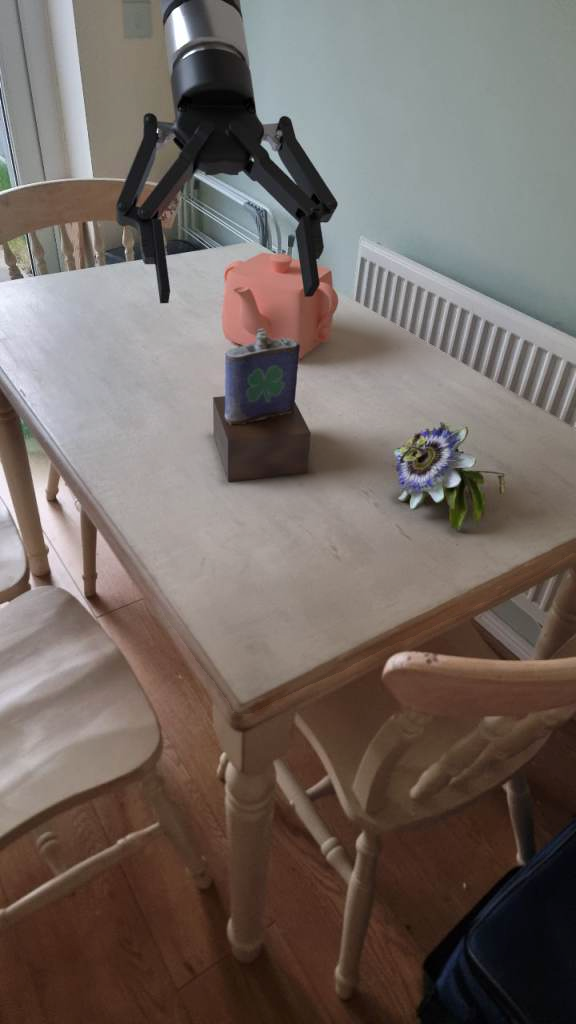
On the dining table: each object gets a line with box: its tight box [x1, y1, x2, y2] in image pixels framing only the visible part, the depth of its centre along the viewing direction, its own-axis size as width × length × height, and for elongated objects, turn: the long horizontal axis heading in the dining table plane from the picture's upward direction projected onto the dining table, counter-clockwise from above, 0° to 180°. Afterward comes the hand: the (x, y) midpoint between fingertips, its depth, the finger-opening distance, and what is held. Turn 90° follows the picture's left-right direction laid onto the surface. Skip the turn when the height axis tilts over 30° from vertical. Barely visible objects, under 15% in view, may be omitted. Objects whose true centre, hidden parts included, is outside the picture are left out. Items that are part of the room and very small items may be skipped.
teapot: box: [221, 252, 339, 360], centre depth 107 cm, size 20×19×14 cm
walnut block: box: [212, 395, 312, 483], centre depth 86 cm, size 10×10×6 cm
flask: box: [224, 329, 300, 424], centre depth 81 cm, size 9×3×11 cm, turn 117°
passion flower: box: [393, 421, 506, 532], centre depth 81 cm, size 11×11×12 cm
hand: (240, 294), depth 63 cm, fingers open, 13 cm apart
